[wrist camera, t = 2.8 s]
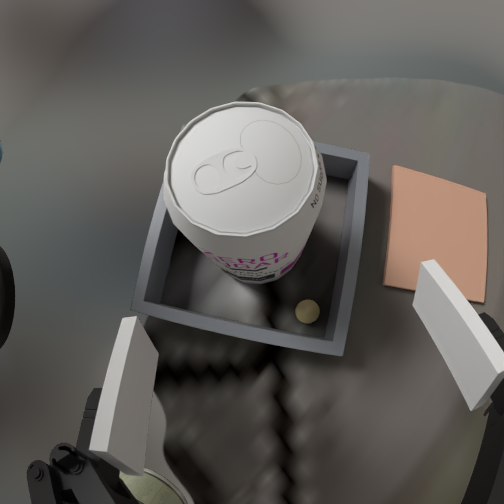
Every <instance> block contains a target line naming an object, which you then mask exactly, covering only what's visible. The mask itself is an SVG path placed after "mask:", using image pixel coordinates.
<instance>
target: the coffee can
mask: <svg viewBox="0 0 504 504" xmlns="http://www.w3.org/2000/svg"><path fill="white" fill-rule="evenodd" d="M119 477H120V478H121V479H122V480H123V482H124V483H125V484H126V486H127V487H128V489H129V490H130V492H131V493H132V494H133V496H134V497H135V498H136V500H137V501H138V502H139V504H187V501H186V499H185V497H184V496H183V494H182V493H181V492H180V490H179V489H178V488H177V487H176V486H175V485H174V484H172V483H171V482H170V481H169V480H168V479H166V478H165V477H163V476H162V475H160V474H158V473H156V472H154V471H152V470H150V469H147V468H144V476H131V475H126V474H124V473H123V472H121V471H120V475H119Z"/></svg>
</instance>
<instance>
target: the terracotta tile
mask: <svg viewBox="0 0 504 504" xmlns="http://www.w3.org/2000/svg"><path fill="white" fill-rule="evenodd" d="M432 259H434V260H435V261H436V262H437V263H438V264H439V266H440V267H441V268H442V269H443V270H444V272H445V273H446V274H447V275H448V277H449V278H450V279H451V280H452V282H453V283H454V284H455V285H456V287H457V288H458V289H459V290H460V292H461V293H462V294H463V296H464V297H465V298H466V299H467V300H468V301H473V302H479V303H484V297H485V285H486V269H487V207H486V194H485V193H482V192H479V191H477V190H474V189H471V188H468V187H465V186H462V185H459V184H456V183H453V182H450V181H447V180H444V179H441V178H438V177H434V176H431V175H428V174H424V173H421V172H417V171H414V170H410V169H407V168H403V167H399V166H396V165H394V166H393V167H392V185H391V204H390V218H389V231H388V241H387V251H386V260H385V268H384V276H383V283H382V285H384V286H390V287H395V288H401V289H406V290H412V291H416V287H417V281H418V276H419V271H420V265H421V262H424V261H428V260H432Z"/></svg>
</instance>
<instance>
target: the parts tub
mask: <svg viewBox="0 0 504 504" xmlns="http://www.w3.org/2000/svg"><path fill="white" fill-rule="evenodd" d="M185 127H186V125H182V128H181V131H182V130H183V129H184V128H185ZM181 131H180V132H181ZM314 144H315V145H316V147H317V149H318V150H319V152H320V153H321V155H322V158H323V163H324V169H325V174H326V175H329V176H334V177H339V178H344V179H348V190H347V199H346V207H345V216H344V223H343V231H342V238H341V245H340V252H339V259H338V265H337V272H336V278H335V284H334V289H333V295H332V301H331V306H330V312H329V317H328V322H327V327H326V332H325V337H324V338H322V337H316V336H311V335H305V334H299V333H294V332H288V331H283V330H278V329H273V328H268V327H263V326H258V325H253V324H248V323H243V322H239V321H234V320H229V319H225V318H220V317H216V316H211V315H207V314H203V313H199V312H194V311H190V310H186V309H182V308H178V307H174V306H170V305H166V304H162V303H161V299H162V294H163V290H164V285H165V281H166V276H167V272H168V268H169V263H170V259H171V255H172V251H173V247H174V243H175V239H176V235H177V231H178V228H177V227H176V226H175V225H174V224H173V222H172V219H171V217H170V214H169V212H168V209H167V206H166V204H165V201H164V181H163V184H162V188H161V191H160V194H159V198H158V201H157V204H156V208H155V211H154V215H153V218H152V222H151V225H150V229H149V233H148V237H147V240H146V244H145V248H144V252H143V256H142V260H141V264H140V269H139V273H138V277H137V282H136V286H135V291H134V295H133V300H132V304H131V309H130V310H132V311H136V312H139V313H143V314H146V315H150V316H153V317H157V318H161V319H164V320H168V321H172V322H176V323H179V324H183V325H187V326H191V327H195V328H199V329H203V330H208V331H212V332H216V333H220V334H225V335H229V336H234V337H238V338H243V339H248V340H252V341H257V342H262V343H267V344H272V345H277V346H283V347H288V348H294V349H299V350H305V351H311V352H317V353H323V354H330V355H336V356H343V352H344V347H345V342H346V337H347V332H348V327H349V322H350V317H351V311H352V306H353V300H354V294H355V288H356V281H357V275H358V268H359V261H360V254H361V246H362V238H363V229H364V220H365V210H366V200H367V188H368V174H369V158H370V154H369V153H365V152H361V151H356V150H352V149H347V148H343V147H338V146H333V145H328V144H323V143H318V142H314ZM319 313H320V310H319V306H318V305H317V303H316V302H314V301H312V300H304V301H301V302H300V303H299V304H298V305H297V306H296V309H295V314H296V317H297V319H298V320H299V321H301V322H303V323H312V322H314V321H315V320H316V319H317V318H318V316H319Z"/></svg>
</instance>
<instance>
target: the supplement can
mask: <svg viewBox="0 0 504 504" xmlns="http://www.w3.org/2000/svg"><path fill="white" fill-rule="evenodd" d="M326 183H327V179H326V174H325V169H324V163H323V158H322V155H321V153H320V152H319V150H318V149H317V147H316V145H315V144H314V142H313V141H312V139H311V138H310V136H309V135H308V134H307V132H306V131H305V129H304V128H303V126H302V125H301V123H299V122H298V121H297V120H295V119H294V118H293V117H291V116H290V115H289V114H287V113H286V112H284V111H283V110H281V109H278V108H275V107H272V106H269V105H266V104H263V103H260V102H232V103H229V104H225V105H221V106H217V107H214V108H211V109H209V110H207V111H206V112H204V113H202V114H201V115H199V116H198V117H196V118H195V119H193V120H191V121H190V122H189V123H188V124H187V125H186V127H185V128H184V129H183V130H182V131H181V132H180V133H179V135H178V136H177V137H176V138H175V140H174V143H173V144H172V147H171V149H170V152H169V155H168V157H167V159H166V170H165V172H164V201H165V204H166V206H167V209H168V212H169V214H170V217H171V219H172V222H173V224H174V225H175V226H176V227H177V228H178V229H179V230H180V231H181V232H182V233H183V234H184V235H185V236H186V237H187V238H188V239H189V240H190V242H191V243H192V244H194V245H195V246H196V247H197V248H198V249H199V250H200V251H202V252H203V253H204V254H205V255H206V256H207V257H208V258H209V259H211V260H212V261H213V262H214V263H215V264H216V265H218V266H219V267H220V268H221V269H222V270H223V271H224V272H226V273H227V274H228V275H229V276H231V277H233V278H235V279H237V280H239V281H242V282H244V283H253V284H263V283H267V282H271V281H274V280H278V279H279V278H280V277H282V276H283V275H285V274H286V273H287V272H289V271H290V270H291V269H292V268H293V266H294V265H295V263H296V262H297V260H298V259H299V257H300V256H301V253H302V251H303V249H304V247H305V244H306V242H307V240H308V238H309V235H310V233H311V231H312V228H313V226H314V224H315V221H316V219H317V217H318V214H319V212H320V210H321V207H322V202H323V198H324V193H325V188H326Z"/></svg>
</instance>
